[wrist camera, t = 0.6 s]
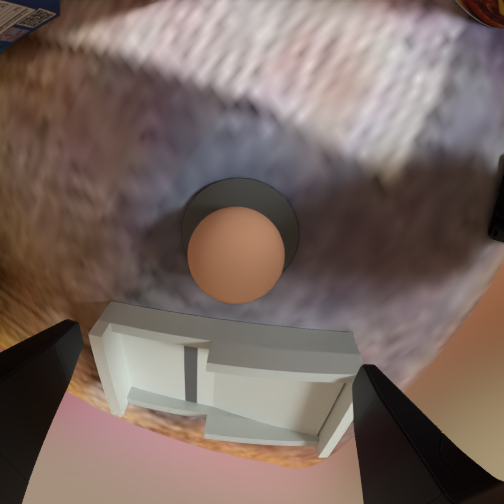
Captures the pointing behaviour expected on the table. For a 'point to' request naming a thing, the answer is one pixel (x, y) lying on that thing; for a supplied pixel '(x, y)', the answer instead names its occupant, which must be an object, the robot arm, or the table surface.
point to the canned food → (485, 11)
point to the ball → (236, 255)
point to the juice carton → (24, 18)
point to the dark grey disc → (247, 196)
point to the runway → (229, 374)
